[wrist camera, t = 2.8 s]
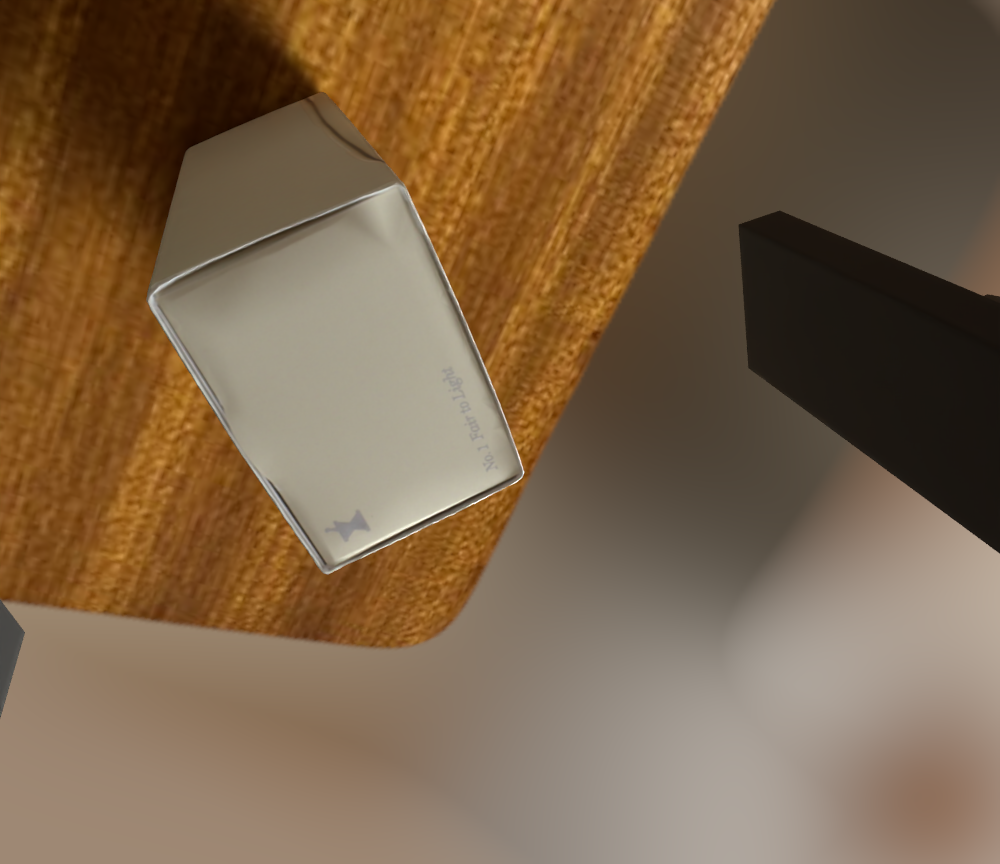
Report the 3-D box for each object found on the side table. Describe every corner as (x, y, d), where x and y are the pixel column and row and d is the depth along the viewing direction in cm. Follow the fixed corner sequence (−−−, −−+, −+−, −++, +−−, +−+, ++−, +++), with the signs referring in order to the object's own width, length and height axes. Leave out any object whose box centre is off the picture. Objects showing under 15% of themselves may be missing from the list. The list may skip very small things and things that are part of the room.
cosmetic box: (409, 282, 26) (541, 484, 16) (278, 342, 25) (325, 589, 15) (320, 79, 22) (416, 170, 12) (167, 145, 22) (134, 296, 12)
